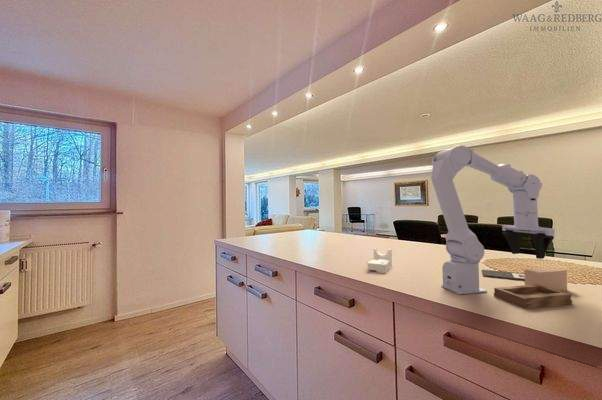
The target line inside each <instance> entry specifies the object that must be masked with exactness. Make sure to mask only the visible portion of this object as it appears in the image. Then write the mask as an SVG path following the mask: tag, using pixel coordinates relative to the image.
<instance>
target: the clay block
mask: <svg viewBox="0 0 602 400" xmlns="http://www.w3.org/2000/svg"><path fill="white" fill-rule="evenodd" d="M523 270H524V274H525V281H524V285H535V284H537V285H540V286H544V287H547V288H551V289H554V290H557V291H561V292H564V291H568V277H567V270H566V269H562V268H557V267H538V268H537V267H536V268H535V267H534V268H524V269H523Z"/></svg>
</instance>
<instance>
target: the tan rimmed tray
mask: <svg viewBox="0 0 602 400" xmlns="http://www.w3.org/2000/svg"><path fill="white" fill-rule="evenodd" d="M493 290H494V291H493V297H495V298H497V299H499V300H501V301H505V302H507V303H510V304H512V305H514V306H518V307H519V308H522V309H525V310H526V309H527V310H528V309H538V308H549V307H550V308H551V307H561V306H568V305H573V300H572V298H571V297H572V296H571V295H572V294H571V293H567V292H564V291H557V290H554V289H551V288H547V287H544V286H540V285H537V284H535V285H525V284H524V285H513V286H512V285H511V286H501V287H500V286H498V287H494V289H493Z"/></svg>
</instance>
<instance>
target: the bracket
mask: <svg viewBox="0 0 602 400" xmlns="http://www.w3.org/2000/svg"><path fill="white" fill-rule="evenodd" d="M392 250H393V249H392V248H388V249H387V252H386V253H383V254H382V253H381V252H379V251H378V247H374V248H373V258H372V259H370V260H369V261H368V262H367V263H366V264H367V270H369V271H376V273H382V274H387V272H388V271H389V270H390V269H391V268H392V267H393V257H392V254H393V253H392Z"/></svg>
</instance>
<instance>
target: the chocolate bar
mask: <svg viewBox="0 0 602 400" xmlns="http://www.w3.org/2000/svg"><path fill="white" fill-rule="evenodd" d="M481 272H482V277H484V278H485V277H486V278H490V279H491V278H493V279H502V280H504V279H505V280H513V281H522V282H525V274H524V273H523V272H513V271H504V270H503V271H501V270H500V271H499V270H490V269H481Z"/></svg>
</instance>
